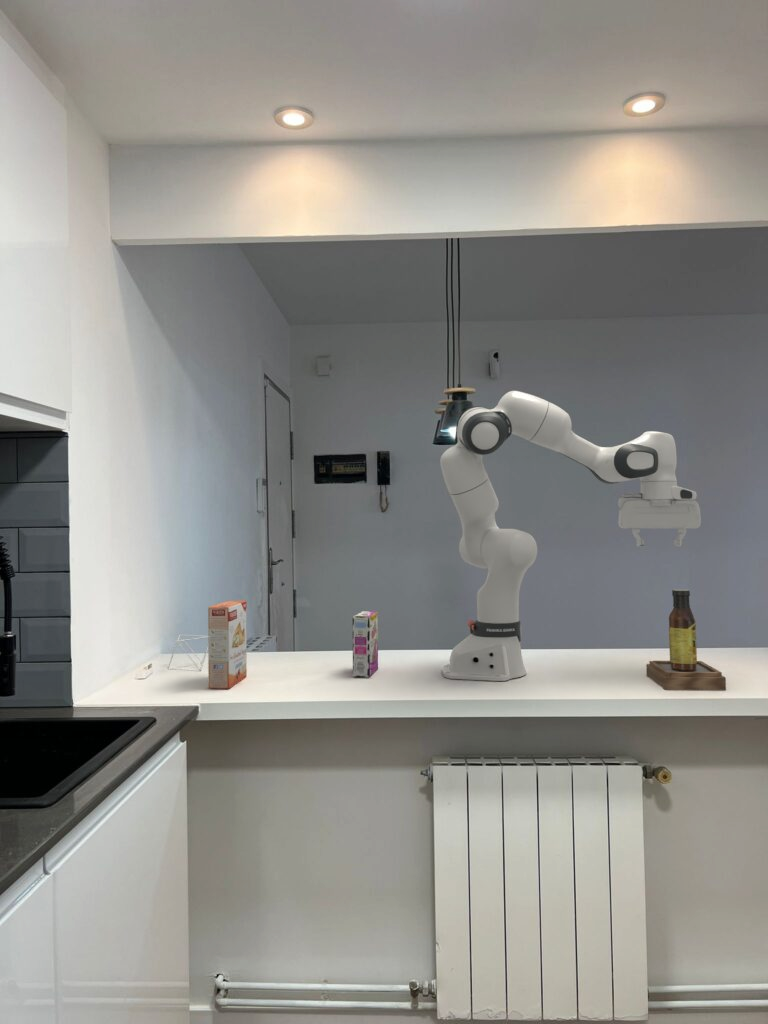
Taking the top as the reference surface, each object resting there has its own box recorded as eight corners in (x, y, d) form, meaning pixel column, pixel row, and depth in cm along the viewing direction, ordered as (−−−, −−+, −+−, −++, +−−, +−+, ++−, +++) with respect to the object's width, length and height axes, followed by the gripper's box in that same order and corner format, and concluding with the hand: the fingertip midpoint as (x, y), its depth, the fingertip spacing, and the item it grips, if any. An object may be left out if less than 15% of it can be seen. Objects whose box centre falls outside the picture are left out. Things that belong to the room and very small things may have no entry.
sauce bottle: (699, 672, 168) (698, 591, 169) (672, 671, 170) (671, 591, 170) (693, 666, 175) (691, 588, 175) (667, 666, 176) (665, 588, 176)
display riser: (665, 690, 165) (665, 673, 165) (646, 675, 180) (646, 660, 180) (725, 690, 164) (725, 673, 164) (701, 675, 179) (701, 660, 179)
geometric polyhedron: (217, 668, 198) (217, 636, 199) (182, 674, 191) (181, 641, 191) (197, 662, 208) (197, 632, 208) (162, 668, 200) (162, 636, 200)
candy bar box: (370, 678, 182) (369, 616, 183) (352, 677, 183) (351, 616, 184) (379, 669, 193) (378, 610, 193) (362, 668, 194) (361, 610, 195)
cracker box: (230, 689, 173) (229, 606, 173) (207, 689, 174) (206, 606, 174) (248, 676, 187) (247, 599, 187) (227, 676, 188) (226, 599, 188)
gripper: (620, 493, 178) (621, 546, 178) (703, 492, 176) (703, 546, 176) (615, 494, 184) (615, 545, 184) (694, 493, 183) (694, 545, 182)
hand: (659, 546), depth 180 cm, fingers open, 8 cm apart
